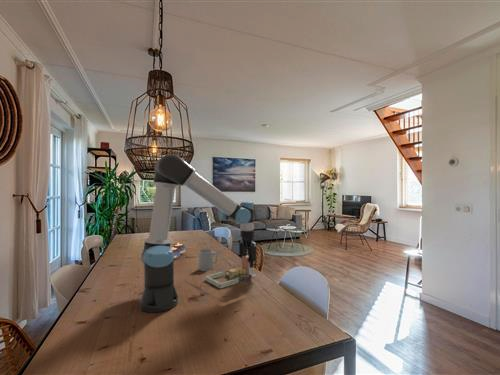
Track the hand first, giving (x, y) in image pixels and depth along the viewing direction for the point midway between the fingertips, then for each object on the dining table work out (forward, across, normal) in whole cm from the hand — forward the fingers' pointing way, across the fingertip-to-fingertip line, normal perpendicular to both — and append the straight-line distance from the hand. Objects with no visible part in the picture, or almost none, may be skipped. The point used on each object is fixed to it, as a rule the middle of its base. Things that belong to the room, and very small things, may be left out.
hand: (247, 271), depth 140 cm
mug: (+3, +26, +10) cm, 28 cm away
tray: (+2, 0, +17) cm, 17 cm away
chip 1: (+1, 0, +9) cm, 9 cm away
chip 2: (+1, 0, +5) cm, 5 cm away
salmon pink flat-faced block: (0, 0, 0) cm, 0 cm away
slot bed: (+2, 0, +5) cm, 5 cm away
